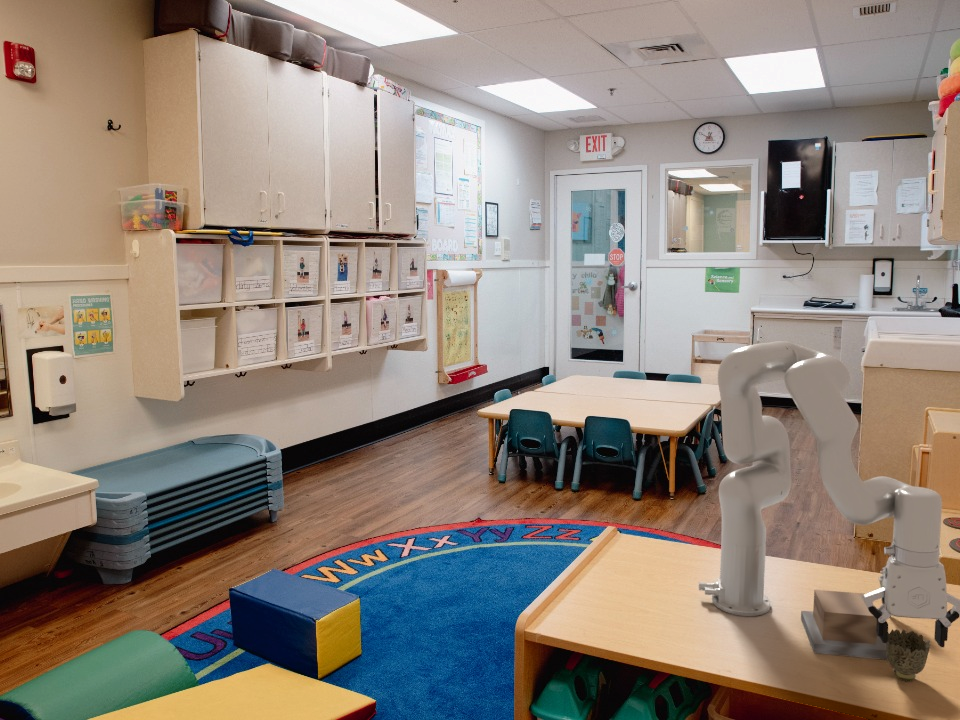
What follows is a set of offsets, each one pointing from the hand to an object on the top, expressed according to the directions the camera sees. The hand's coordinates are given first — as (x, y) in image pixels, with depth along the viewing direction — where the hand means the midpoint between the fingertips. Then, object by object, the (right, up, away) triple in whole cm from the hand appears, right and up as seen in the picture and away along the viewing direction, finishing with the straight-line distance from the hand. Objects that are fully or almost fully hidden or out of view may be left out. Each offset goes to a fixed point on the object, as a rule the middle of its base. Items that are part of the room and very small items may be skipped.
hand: (910, 641), depth 146 cm
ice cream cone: (+9, -4, +25) cm, 27 cm away
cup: (0, -8, +2) cm, 8 cm away
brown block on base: (-5, -5, +16) cm, 18 cm away
